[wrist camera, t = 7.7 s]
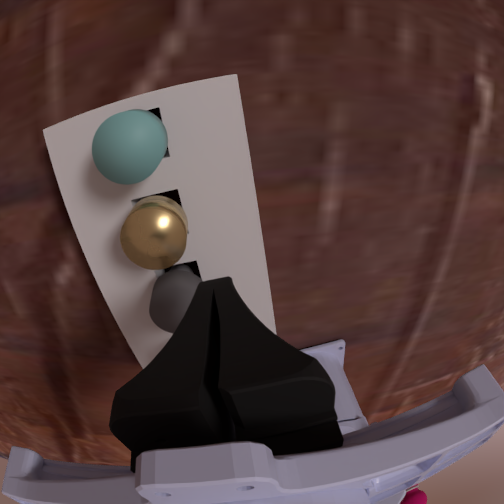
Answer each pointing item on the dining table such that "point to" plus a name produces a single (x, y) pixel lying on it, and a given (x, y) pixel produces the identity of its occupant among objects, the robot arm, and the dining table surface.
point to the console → (161, 180)
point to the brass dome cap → (155, 233)
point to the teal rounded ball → (129, 146)
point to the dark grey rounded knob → (172, 296)
